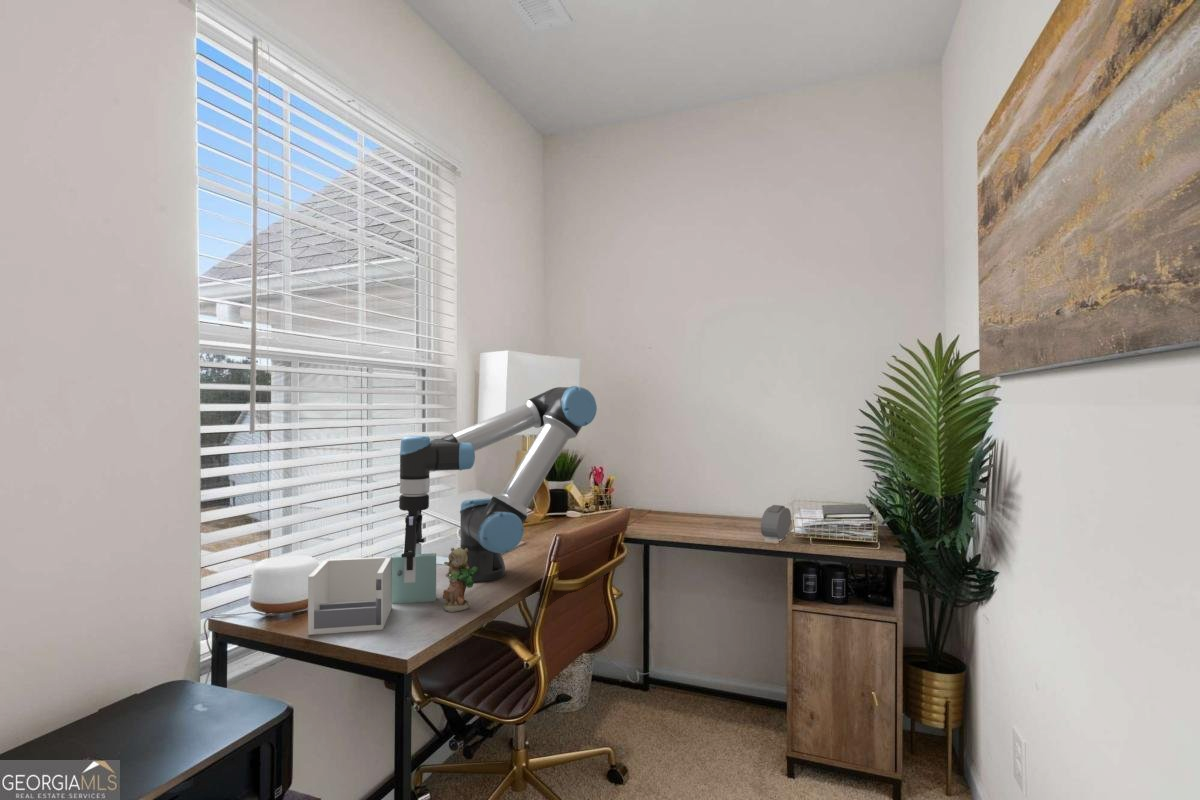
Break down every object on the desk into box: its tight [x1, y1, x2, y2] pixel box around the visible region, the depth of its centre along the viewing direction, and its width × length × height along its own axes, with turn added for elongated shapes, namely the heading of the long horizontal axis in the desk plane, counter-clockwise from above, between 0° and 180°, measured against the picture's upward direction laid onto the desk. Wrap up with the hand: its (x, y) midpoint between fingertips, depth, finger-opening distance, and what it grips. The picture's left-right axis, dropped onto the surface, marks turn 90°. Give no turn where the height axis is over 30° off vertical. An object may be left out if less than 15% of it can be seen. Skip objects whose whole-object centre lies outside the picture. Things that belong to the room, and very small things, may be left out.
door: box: [392, 552, 437, 604], centre depth 157 cm, size 11×4×12 cm, turn 101°
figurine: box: [442, 547, 478, 613], centre depth 152 cm, size 9×8×15 cm
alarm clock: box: [759, 504, 792, 542], centre depth 227 cm, size 23×6×13 cm, turn 150°
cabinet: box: [307, 555, 393, 636], centre depth 143 cm, size 16×15×13 cm
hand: (412, 574), depth 157 cm, fingers open, 13 cm apart
